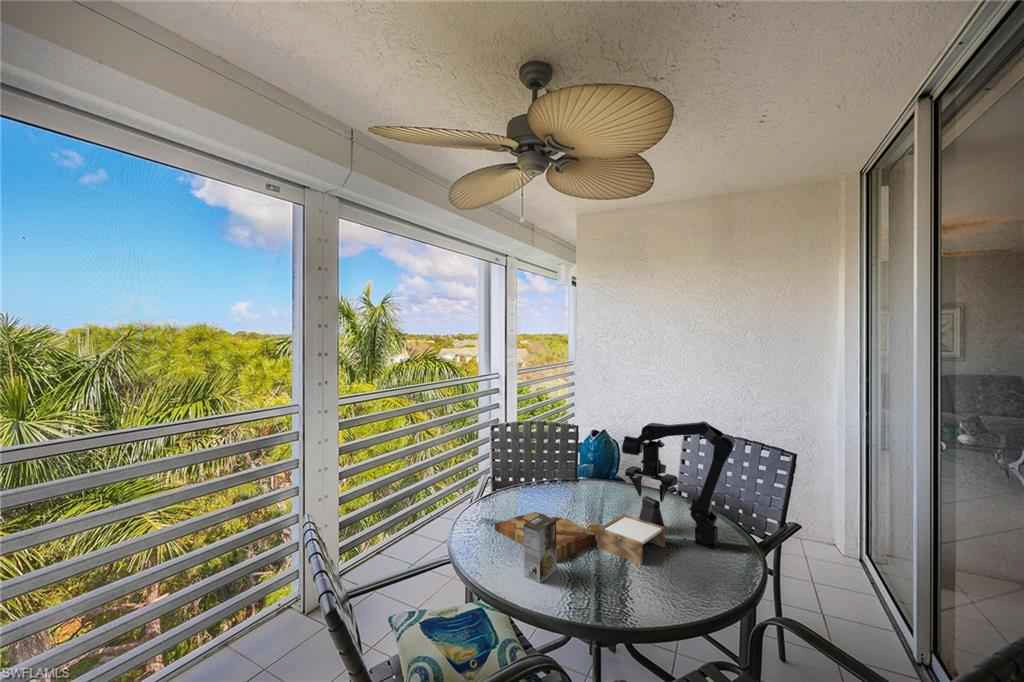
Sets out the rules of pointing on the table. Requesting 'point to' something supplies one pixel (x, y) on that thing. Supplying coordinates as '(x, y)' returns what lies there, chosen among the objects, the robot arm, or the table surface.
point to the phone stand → (651, 511)
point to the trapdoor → (634, 530)
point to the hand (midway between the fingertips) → (650, 498)
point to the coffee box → (540, 548)
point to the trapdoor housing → (626, 541)
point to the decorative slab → (567, 534)
